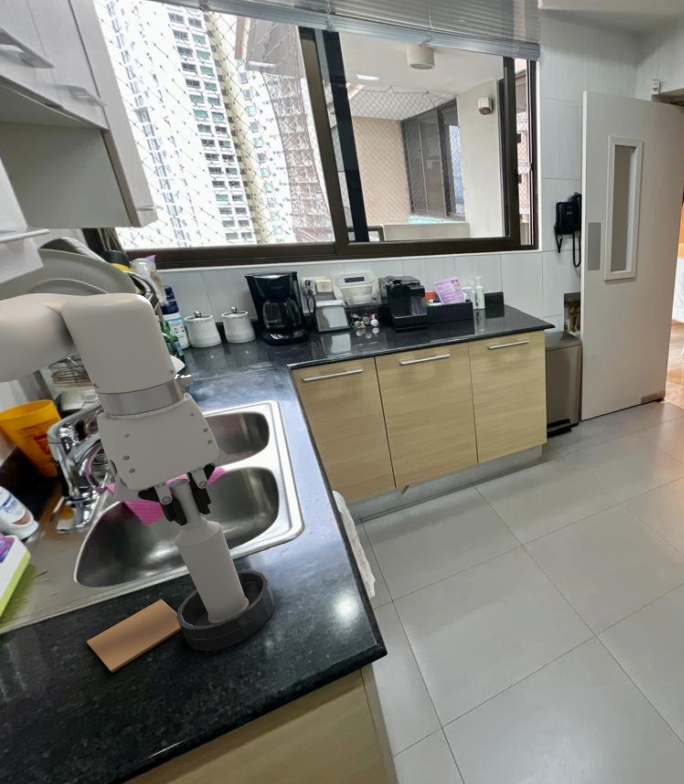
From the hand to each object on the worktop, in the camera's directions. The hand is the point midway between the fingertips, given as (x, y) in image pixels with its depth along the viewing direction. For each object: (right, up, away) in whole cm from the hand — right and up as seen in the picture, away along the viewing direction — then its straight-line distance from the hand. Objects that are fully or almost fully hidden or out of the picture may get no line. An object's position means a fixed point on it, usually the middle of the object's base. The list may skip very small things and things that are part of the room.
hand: (191, 515), depth 65 cm
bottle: (0, -18, +8) cm, 20 cm away
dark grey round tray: (0, -18, +8) cm, 20 cm away
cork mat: (-12, -19, +5) cm, 23 cm away
